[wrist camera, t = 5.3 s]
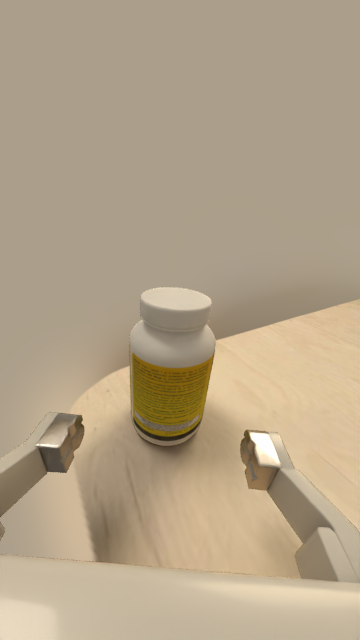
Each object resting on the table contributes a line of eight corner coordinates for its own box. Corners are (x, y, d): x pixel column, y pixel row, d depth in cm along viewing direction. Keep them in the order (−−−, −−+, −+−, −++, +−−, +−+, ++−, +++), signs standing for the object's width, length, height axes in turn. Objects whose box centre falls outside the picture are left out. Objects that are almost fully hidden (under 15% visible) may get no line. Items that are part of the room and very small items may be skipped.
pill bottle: (215, 430, 16) (246, 309, 12) (144, 464, 14) (146, 323, 9) (181, 381, 21) (193, 282, 17) (124, 399, 18) (118, 285, 14)
